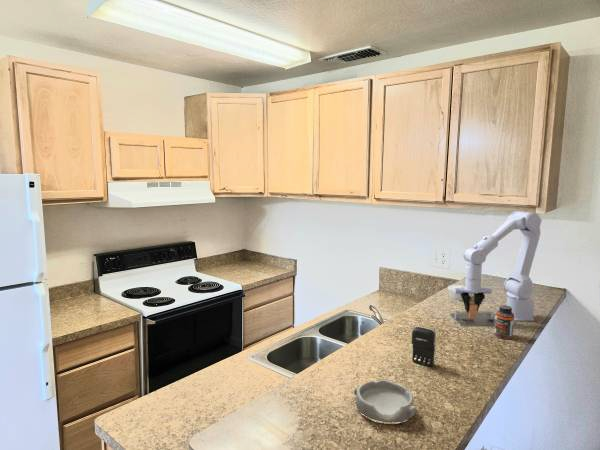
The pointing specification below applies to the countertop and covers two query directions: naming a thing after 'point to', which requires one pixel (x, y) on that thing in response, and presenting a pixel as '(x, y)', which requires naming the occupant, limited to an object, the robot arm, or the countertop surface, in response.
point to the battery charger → (423, 345)
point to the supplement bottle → (504, 322)
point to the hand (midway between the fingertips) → (471, 310)
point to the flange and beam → (482, 318)
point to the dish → (385, 401)
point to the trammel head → (472, 310)
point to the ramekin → (452, 294)
